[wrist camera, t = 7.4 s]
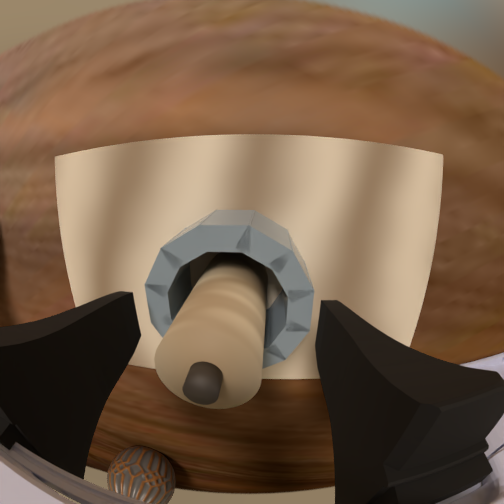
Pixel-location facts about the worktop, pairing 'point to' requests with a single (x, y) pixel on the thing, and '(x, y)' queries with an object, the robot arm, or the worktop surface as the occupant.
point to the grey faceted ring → (253, 245)
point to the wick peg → (218, 335)
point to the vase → (142, 475)
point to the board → (268, 204)
